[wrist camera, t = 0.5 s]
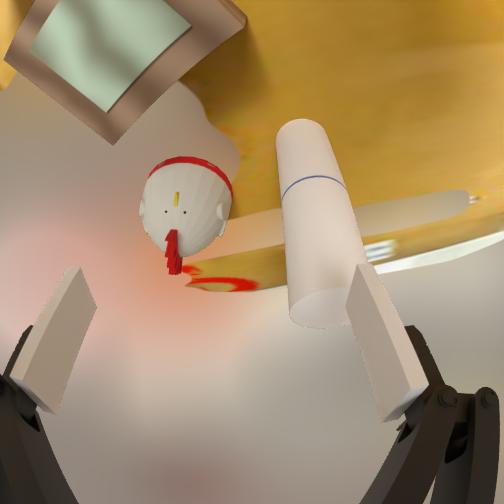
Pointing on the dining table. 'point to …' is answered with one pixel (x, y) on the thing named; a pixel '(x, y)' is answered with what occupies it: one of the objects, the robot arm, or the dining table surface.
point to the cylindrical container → (316, 227)
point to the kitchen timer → (185, 207)
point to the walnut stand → (116, 52)
